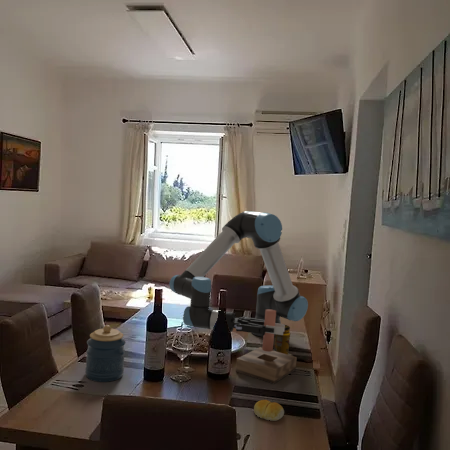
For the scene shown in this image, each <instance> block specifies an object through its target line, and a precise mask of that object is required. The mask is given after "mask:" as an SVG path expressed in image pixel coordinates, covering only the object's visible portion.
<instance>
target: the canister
mask: <svg viewBox="0 0 450 450" xmlns="http://www.w3.org/2000/svg"><path fill="white" fill-rule="evenodd" d="M89 337H90V338H89V339H88V340H87V341H86V344H87V350H86V361H85V362H86V364H85V369H84V371H85V377H86V378H87V379H88V380H91V381H93V382H100V383H101V382H102V383H104V382H106V383H107V382H113V381H116V380H119V379H121V378H122V377H123V375H124V371H125V367H124V366H125V353H126V350H125V345H126V342H127V341H126V340H125V339H124V333H122V331H120V330H118V329H116V328H112V327H111V326H110V325H109V324H106V325H104V326H103V328H99V329H96V330H94V331H93V332H91V333H89Z"/></svg>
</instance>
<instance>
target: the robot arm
mask: <svg viewBox="0 0 450 450" xmlns="http://www.w3.org/2000/svg"><path fill="white" fill-rule="evenodd" d="M282 231H283V224H282V221H281V219H280V218H279V217H278V216H277V215H275V214H273V213H269V212H265V211H264V212H259V211H252V210H245V211H242V212H239V213H238V214H236V215H234V216H233V217H232V218H231V219H230V220H228V222H226V223H225V224H224V225H223V227H222V229H221V232H220V233H219V234H218V235H217V236H216V237H215V238H214V239H213V241H212V242H211V243H210V244H209V245H208V246H207V247H206V248H205V249H204V250H203V251H202V252H201V253H200V254H199V255H198V256H197V257H196V258H195V259H194V260H193V261H192V263H191V264H190V265H189V266H188V267H187V268H186V269H185V270H184V271H183V272H182V273H181V274H175V275H173V276H172V277H171V278H170V280H169V284H168V285H169V288H170V291H172V292H173V293H175V294H176V295H180V296H183V297H186V298H188V299H189V300H190V303H189V304H190V305H189V306H186V307H185V308H184V310H183V315H182V321H183V324H184V325H185V326H188V327H192V328H196V329H197V328H198V329H207V330H212V331H214V330H213V327H214V325H215V323H216V321H217V318H218V311H220V310H219V309H218V310H217V309H211V308H210V305H211V303H210V302H211V293H212V280H211V278H209V277H205V276H206V275H207V274H208V273H209V272H210V270H212V269H213V267H215V265H216V264H217V263H218V262H219V261H220V260H221V259H222V258H223V257H224V255H226V253H227V252H228V251H229V250H230V249H231V248H232V247H233V246H234V245H235V244H239V243H240V241H242V240H243V239H246V238H248V239H251V240H252V243H253V245H254V247H255V248H256V249H257V250H259V251H260V254H261V255H260V256H261V257H262V259H263V263H264V266H265V268H266V271H267V273H268V276H269V279H270V281H271V284H272V285H261V286H259V287H258V289H257V294H256V305H255V306H256V307H255V317H248V316H246V315H245V316H241V317H236V314H235V312H232V311H225V312H226V320H227V324H228V327H229V330H230V332H229V333H232V332H233V331H234V329H235V332H243V333H244V332H245V333H251V334H252V335H254V336H258V337H260V338H261V337H262V338H263V335H265V333H271V334H274V339H275V336H276V334H278V335H283V332H284V330H285V325H286V324H285V323H282V322H281V318H283V319H286V320H288V321H292V322H298V321H301V320H302V319H303V318H305V315H306V314H307V311H308V309H309V308H308V307H309V303H308V299H307V298H306V297H304V296H303V295H301V294H300V291H299V288H298V287H297V286H295V285H293V281H292V278H291V275H290V272H289V270H288V266H287V264H286V261H285V257H284V255H283V253H282V250H281V246H280V244H279V242H280V241H281V237H282V233H283V232H282ZM267 309H271V310H275V311H276V319H275V326H269V325H266V326H264V322H265V311H266V310H267Z"/></svg>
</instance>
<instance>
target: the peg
mask: <svg viewBox="0 0 450 450" xmlns="http://www.w3.org/2000/svg"><path fill="white" fill-rule="evenodd" d="M275 319H276V311H275V310H271V309H267V310H266V311H265V322H264V326H266V325H269V326H275ZM274 343H275V338H274V334H271V333H265V335H263V337H262V346H261V347H262V350H264V351H268V352H270V351H274Z"/></svg>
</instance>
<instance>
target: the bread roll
mask: <svg viewBox="0 0 450 450" xmlns="http://www.w3.org/2000/svg"><path fill="white" fill-rule="evenodd" d="M253 412H254V414H255V416H256V415H257V416H256V417H258V418H259V417H260V419H264V420H266V421H269V420H270V421H271V422H273V421H274V422H275V421H279V420H281V419H282V418H283V416H284V414H285V410H284V408H283V406H282V405H281V404H279V402H274V401H273V402H271V401H270V400H268V399H261V400H259V401H257V402H256V403H255V404H254V406H253ZM270 421H269V422H270Z"/></svg>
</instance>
